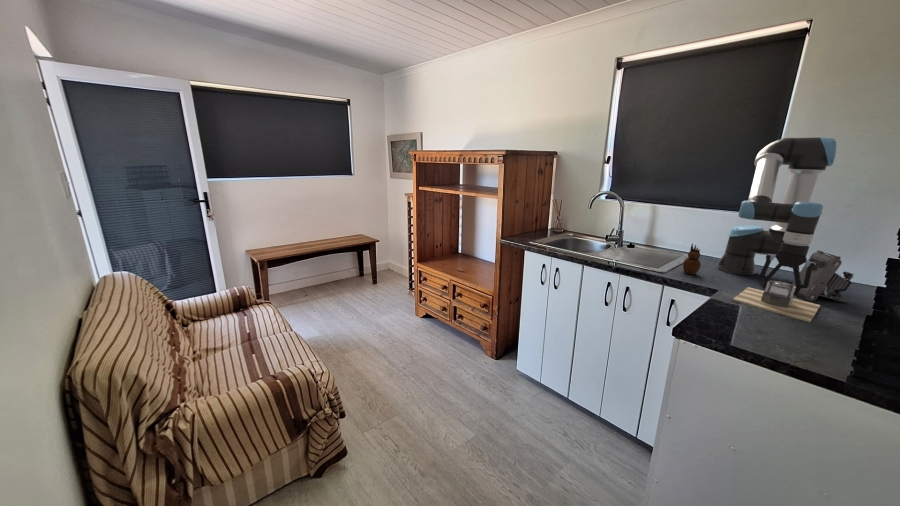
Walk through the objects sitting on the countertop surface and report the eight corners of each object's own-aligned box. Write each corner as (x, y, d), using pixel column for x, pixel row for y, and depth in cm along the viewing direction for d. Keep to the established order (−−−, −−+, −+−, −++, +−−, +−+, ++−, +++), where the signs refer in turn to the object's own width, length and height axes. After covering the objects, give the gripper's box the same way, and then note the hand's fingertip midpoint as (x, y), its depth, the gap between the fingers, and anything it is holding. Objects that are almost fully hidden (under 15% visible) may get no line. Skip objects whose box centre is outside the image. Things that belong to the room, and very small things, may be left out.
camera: (846, 313, 134) (880, 269, 127) (802, 299, 135) (833, 254, 129) (822, 302, 144) (853, 260, 138) (782, 289, 146) (810, 247, 139)
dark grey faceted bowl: (766, 295, 138) (769, 286, 137) (792, 302, 132) (795, 292, 131) (759, 301, 132) (762, 292, 131) (786, 308, 126) (790, 299, 125)
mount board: (747, 288, 147) (748, 287, 147) (819, 307, 130) (820, 305, 130) (732, 300, 134) (733, 298, 134) (810, 322, 117) (810, 320, 117)
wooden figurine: (679, 271, 167) (685, 242, 163) (686, 270, 170) (693, 241, 165) (693, 276, 162) (700, 246, 157) (700, 274, 164) (707, 245, 160)
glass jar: (767, 295, 136) (772, 279, 134) (789, 301, 131) (794, 284, 129) (764, 299, 132) (769, 283, 130) (786, 305, 127) (791, 288, 125)
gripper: (759, 239, 130) (743, 293, 137) (832, 251, 115) (810, 310, 122) (764, 236, 135) (748, 289, 141) (835, 247, 120) (813, 305, 126)
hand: (776, 299), depth 132 cm, fingers open, 6 cm apart
